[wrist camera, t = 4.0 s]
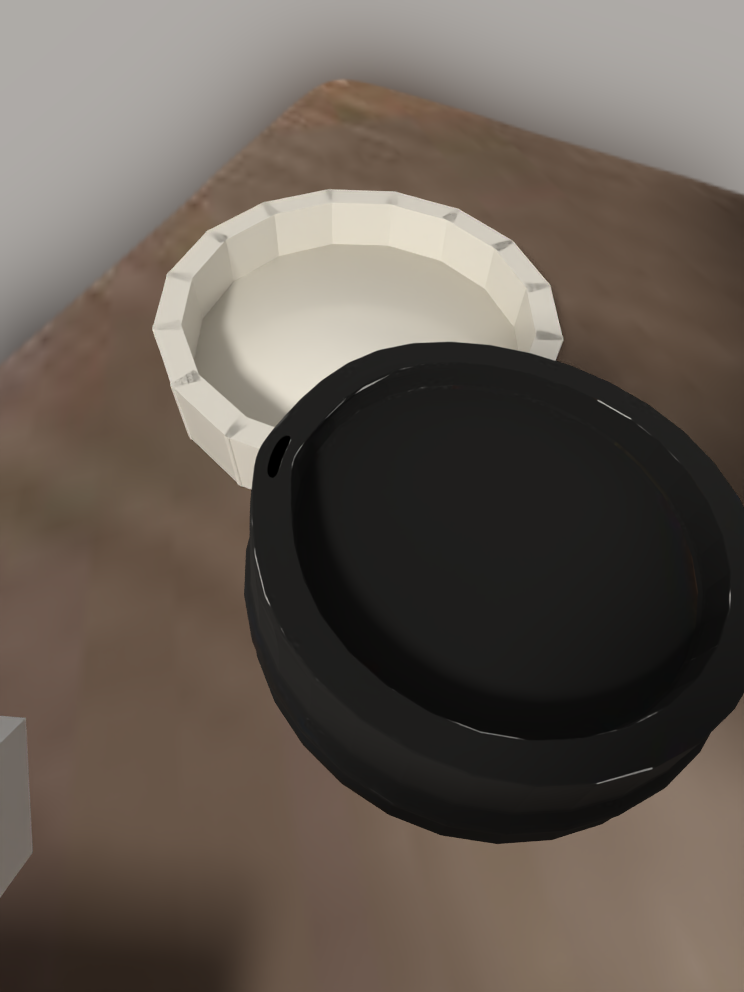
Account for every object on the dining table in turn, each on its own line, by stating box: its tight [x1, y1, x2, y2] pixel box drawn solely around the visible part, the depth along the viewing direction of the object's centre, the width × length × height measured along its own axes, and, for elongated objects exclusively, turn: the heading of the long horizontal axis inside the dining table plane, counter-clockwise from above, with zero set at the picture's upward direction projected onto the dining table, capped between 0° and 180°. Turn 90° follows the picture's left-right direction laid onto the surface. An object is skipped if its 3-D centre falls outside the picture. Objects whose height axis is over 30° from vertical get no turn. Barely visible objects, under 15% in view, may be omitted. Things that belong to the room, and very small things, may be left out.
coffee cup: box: [244, 342, 744, 844], centre depth 15 cm, size 8×8×15 cm
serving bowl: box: [152, 189, 563, 489], centre depth 29 cm, size 18×18×4 cm
